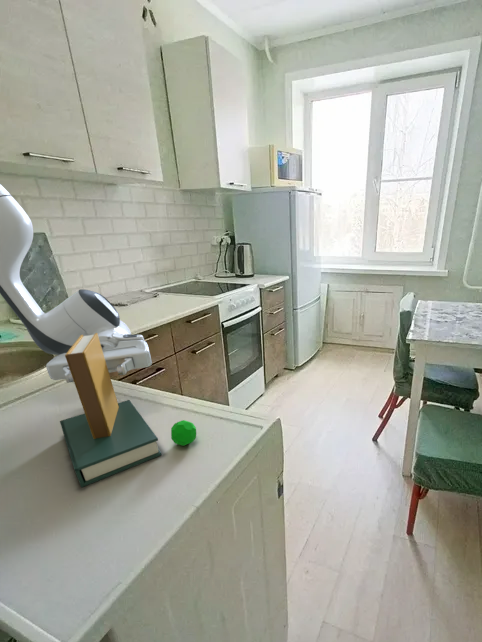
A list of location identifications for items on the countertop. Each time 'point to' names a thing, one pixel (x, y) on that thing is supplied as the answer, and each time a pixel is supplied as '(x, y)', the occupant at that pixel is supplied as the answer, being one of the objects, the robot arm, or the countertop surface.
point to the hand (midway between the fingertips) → (95, 375)
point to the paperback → (93, 384)
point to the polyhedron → (183, 432)
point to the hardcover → (109, 445)
